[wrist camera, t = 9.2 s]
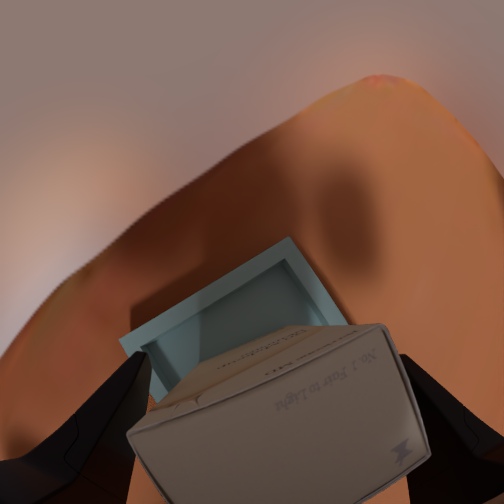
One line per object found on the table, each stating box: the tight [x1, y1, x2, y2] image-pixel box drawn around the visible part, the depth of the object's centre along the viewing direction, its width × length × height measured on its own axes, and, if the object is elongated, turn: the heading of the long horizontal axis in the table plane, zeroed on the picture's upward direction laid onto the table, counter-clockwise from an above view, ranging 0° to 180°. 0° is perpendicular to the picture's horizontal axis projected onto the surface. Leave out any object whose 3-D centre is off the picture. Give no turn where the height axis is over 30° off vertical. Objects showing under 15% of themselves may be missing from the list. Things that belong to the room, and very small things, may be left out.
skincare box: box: [126, 323, 431, 504], centre depth 10 cm, size 6×4×12 cm
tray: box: [119, 236, 349, 404], centre depth 16 cm, size 12×12×2 cm
